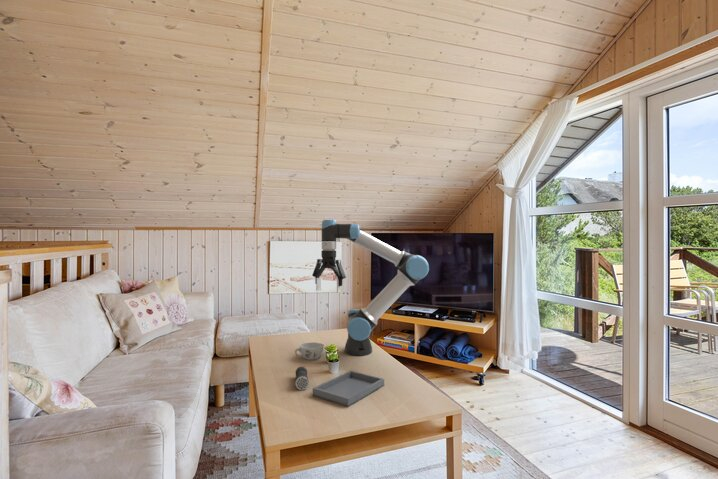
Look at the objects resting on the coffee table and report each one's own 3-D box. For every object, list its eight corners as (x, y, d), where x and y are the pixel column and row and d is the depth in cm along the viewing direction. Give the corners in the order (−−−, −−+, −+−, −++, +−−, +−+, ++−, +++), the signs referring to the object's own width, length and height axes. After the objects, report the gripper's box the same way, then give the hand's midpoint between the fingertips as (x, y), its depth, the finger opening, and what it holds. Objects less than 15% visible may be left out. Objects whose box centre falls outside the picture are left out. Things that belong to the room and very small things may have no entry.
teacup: (321, 355, 206) (321, 341, 206) (325, 362, 194) (326, 347, 194) (293, 358, 202) (293, 343, 202) (296, 365, 190) (296, 349, 190)
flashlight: (303, 379, 173) (293, 374, 173) (308, 368, 174) (298, 363, 173) (305, 391, 158) (293, 387, 157) (310, 379, 159) (298, 374, 158)
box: (350, 377, 174) (350, 370, 174) (384, 385, 164) (384, 378, 164) (312, 395, 153) (312, 388, 153) (348, 406, 142) (348, 398, 142)
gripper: (305, 249, 198) (305, 290, 198) (343, 250, 184) (343, 294, 184) (315, 249, 204) (315, 288, 204) (352, 250, 190) (352, 292, 190)
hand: (328, 291), depth 194 cm, fingers open, 13 cm apart
